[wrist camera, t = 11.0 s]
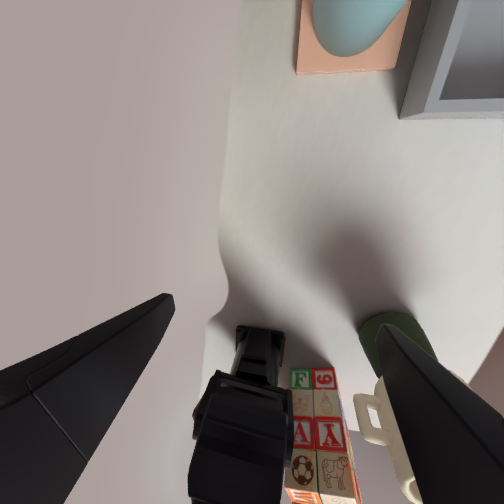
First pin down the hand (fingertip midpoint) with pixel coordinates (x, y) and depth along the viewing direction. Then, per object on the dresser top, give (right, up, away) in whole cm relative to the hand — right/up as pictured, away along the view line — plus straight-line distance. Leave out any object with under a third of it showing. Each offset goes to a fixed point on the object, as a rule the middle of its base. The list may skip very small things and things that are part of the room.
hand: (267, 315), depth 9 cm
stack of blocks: (+11, -23, +24) cm, 35 cm away
